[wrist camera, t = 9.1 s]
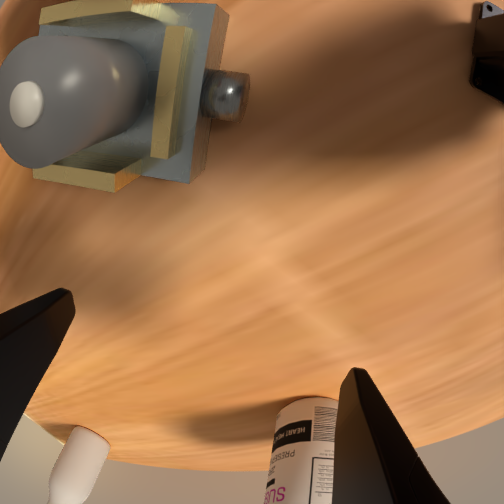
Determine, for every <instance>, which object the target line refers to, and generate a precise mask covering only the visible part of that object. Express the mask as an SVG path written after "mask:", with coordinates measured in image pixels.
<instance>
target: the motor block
mask: <svg viewBox="0 0 504 504" xmlns="http://www.w3.org/2000/svg"><path fill="white" fill-rule="evenodd" d="M228 20H229V14H228V13H227V12H225V11H224V10H223V9H222V8H221V7H219V6H218V5H217V4H207V3H160V2H158V1H155V0H75V1H70V2H65V3H61V4H56V5H52V6H48V7H44V8H41V14H40V19H39V25H40V29H39V36H79V37H95V38H107V39H116V40H121V41H124V42H126V43H128V44H130V45H131V46H132V47H134V48H135V49H136V50H137V51H138V53H139V54H140V55H141V57H142V58H143V61H144V63H145V65H146V68H147V72H148V79H149V88H148V96H147V100H146V103H145V106H144V108H143V111H142V113H141V114H140V116H139V118H138V119H137V120H136V122H135V123H134V124H133V125H132V126H131V127H130V128H129V129H127V130H126V131H125V132H123V133H121V134H119V135H117V136H114V137H112V138H109V139H107V140H104V141H102V142H100V143H97V144H95V145H92V146H90V147H88V148H85V149H83V150H81V151H79V152H76V153H74V154H72V155H70V156H68V157H65V158H63V159H61V160H59V161H57V162H55V163H53V164H51V165H49V166H46V167H43V168H38V169H33V178H35V179H41V180H47V181H53V182H58V183H64V184H69V185H75V186H81V187H86V188H91V189H97V190H102V191H107V192H113V193H115V192H117V191H118V190H119V189H121V188H122V187H124V186H125V185H127V184H128V183H130V182H131V181H133V180H134V179H136V178H137V177H139V176H140V175H143V176H149V177H154V178H160V179H166V180H171V181H176V182H182V183H187V184H190V183H191V182H192V181H193V180H194V179H195V178H196V177H197V176H198V175H199V174H200V173H201V172H202V171H204V170H205V163H206V155H207V147H208V140H209V133H210V126H211V119H212V118H214V119H221V120H227V121H233V122H239V123H240V122H241V120H242V118H243V116H244V113H245V110H246V106H247V102H248V96H249V90H250V75H249V74H246V73H239V72H232V71H224V70H219V69H220V63H221V57H222V52H223V46H224V41H225V35H226V30H227V25H228Z"/></svg>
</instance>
